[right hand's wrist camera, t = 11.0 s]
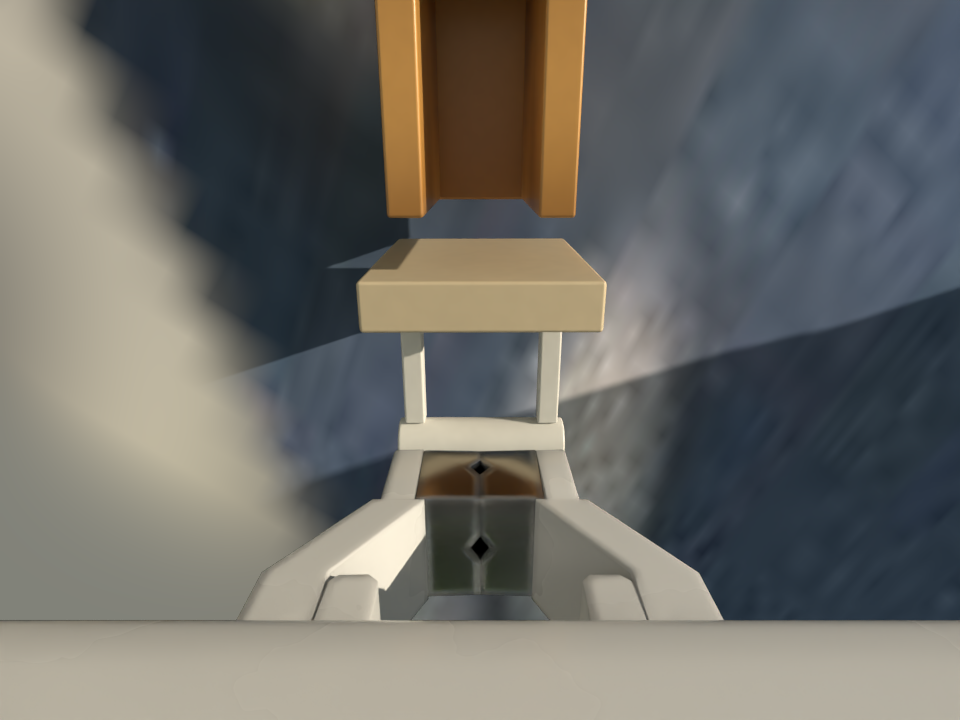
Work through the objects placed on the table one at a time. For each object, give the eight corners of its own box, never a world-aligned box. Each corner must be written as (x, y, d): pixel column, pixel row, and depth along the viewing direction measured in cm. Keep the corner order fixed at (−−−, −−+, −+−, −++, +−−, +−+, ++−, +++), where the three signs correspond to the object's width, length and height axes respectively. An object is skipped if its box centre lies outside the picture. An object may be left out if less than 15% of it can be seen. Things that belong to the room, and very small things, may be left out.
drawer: (555, 410, 21) (588, 523, 15) (406, 410, 21) (374, 524, 15) (602, -542, 13) (728, -1255, 6) (357, -541, 13) (232, -1252, 6)
